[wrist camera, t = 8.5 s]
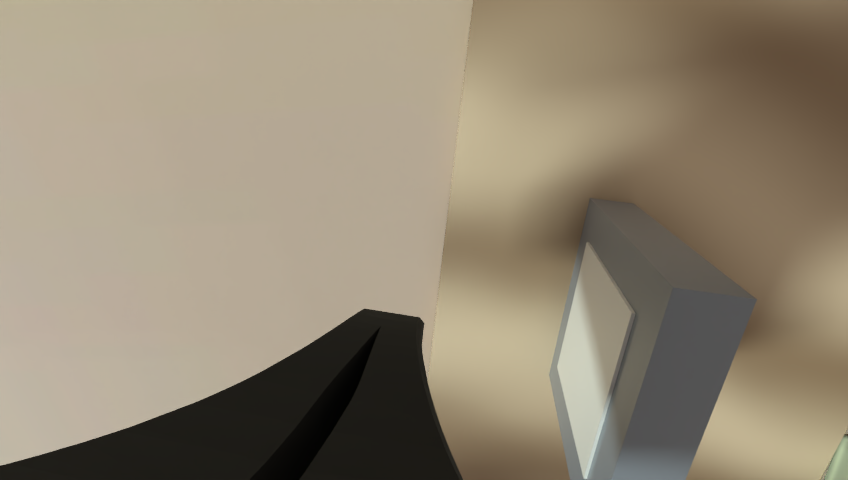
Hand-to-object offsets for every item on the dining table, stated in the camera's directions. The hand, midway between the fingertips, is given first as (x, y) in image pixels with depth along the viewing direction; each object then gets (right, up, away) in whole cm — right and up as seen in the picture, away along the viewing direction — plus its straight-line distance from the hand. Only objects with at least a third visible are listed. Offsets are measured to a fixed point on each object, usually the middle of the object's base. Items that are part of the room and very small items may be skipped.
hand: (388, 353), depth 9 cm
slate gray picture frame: (+6, +1, +4) cm, 7 cm away
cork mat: (+8, +1, +4) cm, 9 cm away
